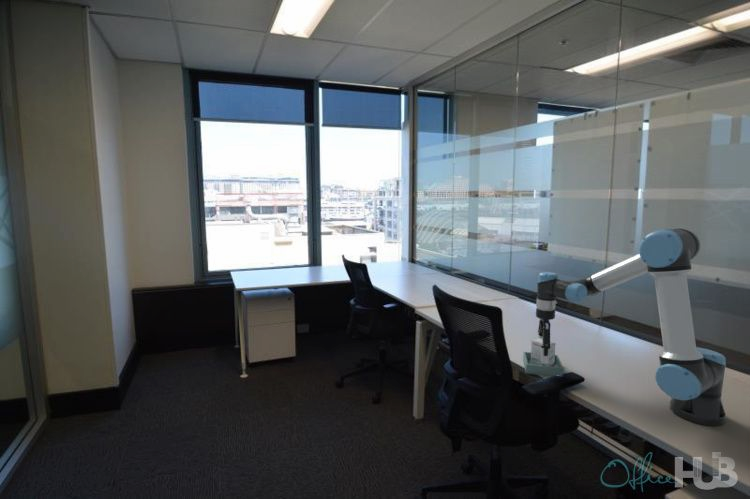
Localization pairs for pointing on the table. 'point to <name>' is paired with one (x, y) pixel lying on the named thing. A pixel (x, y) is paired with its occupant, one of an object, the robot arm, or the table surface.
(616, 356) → the table surface
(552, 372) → the bin
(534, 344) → the ink box
